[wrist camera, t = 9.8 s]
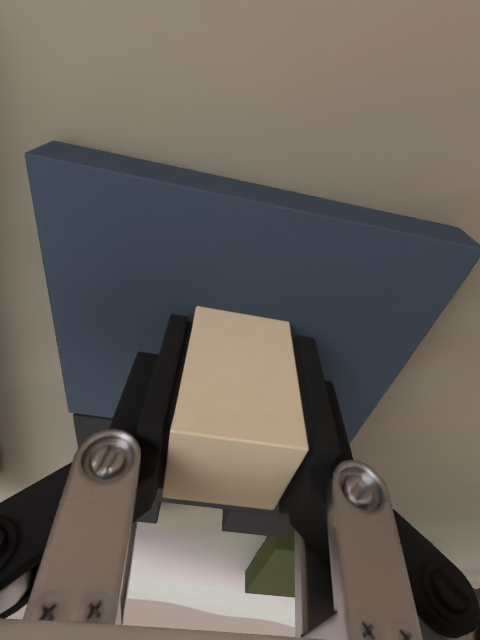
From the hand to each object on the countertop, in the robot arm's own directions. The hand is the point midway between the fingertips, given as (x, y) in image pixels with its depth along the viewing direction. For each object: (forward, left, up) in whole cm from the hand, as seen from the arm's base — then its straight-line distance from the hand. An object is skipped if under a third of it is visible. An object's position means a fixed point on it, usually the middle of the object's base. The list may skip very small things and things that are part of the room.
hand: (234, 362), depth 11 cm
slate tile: (0, +1, -2) cm, 3 cm away
